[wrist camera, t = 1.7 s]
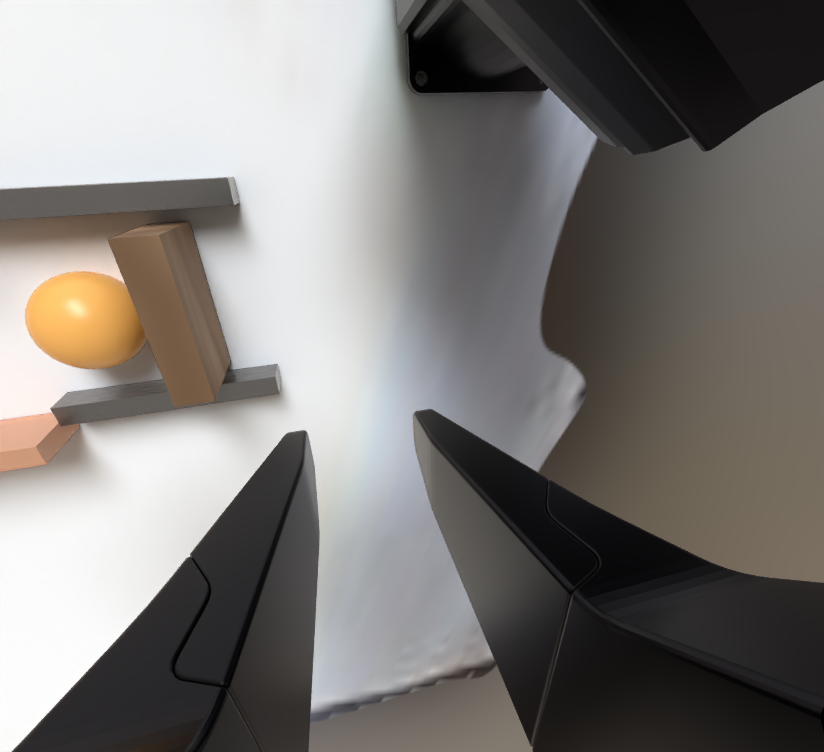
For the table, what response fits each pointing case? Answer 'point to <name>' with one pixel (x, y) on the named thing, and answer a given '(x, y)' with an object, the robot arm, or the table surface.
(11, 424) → the pocket
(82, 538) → the table surface
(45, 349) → the ball
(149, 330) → the brown wooden block
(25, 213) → the track
